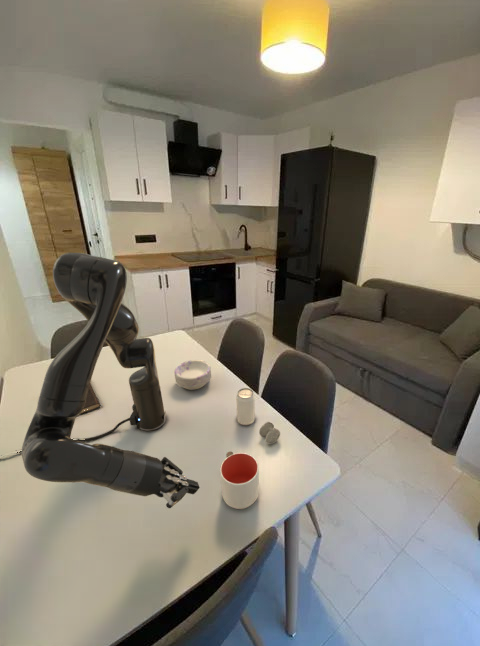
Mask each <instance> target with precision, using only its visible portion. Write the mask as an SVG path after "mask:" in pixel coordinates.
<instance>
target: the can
mask: <svg viewBox="0 0 480 646" xmlns="http://www.w3.org/2000/svg"><path fill="white" fill-rule="evenodd" d="M255 399H256V398H255V394H254V390H252V389H251V388H246V387H244V388H243V387H242V388H240V389H239V390H237V394H236V419H237V420H236V421H237V422H238V423H239V424H240V425H242V426H250V425H252V424H253V423H255V420H256V403H255V402H256V400H255Z"/></svg>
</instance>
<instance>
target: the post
mask: <svg viewBox="0 0 480 646" xmlns="http://www.w3.org/2000/svg"><path fill="white" fill-rule="evenodd" d="M233 454H234V452H233V451H228V452H226V454H225V456H226V458H227V457H229V456H230V455H233Z"/></svg>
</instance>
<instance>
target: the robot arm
mask: <svg viewBox="0 0 480 646" xmlns="http://www.w3.org/2000/svg"><path fill="white" fill-rule="evenodd" d="M52 279H53V283H54V285H55V288H56V290H57V292H58V294H59V295H60V296H61V297H62V298H63V299H64V300H65V301H66V302H67V303H68V304H69V305H71V306H72V307H73V308H74V309H76V310H77V311H78V312H79V313H80V314H81V315H82V316H83V317H84V319H86V320H87V321H88V322H87V324H86V326H85V327H83V329H82V330H81V331H80V332H79V333H78V335H76V337H74V338H73V339H72V340H71V341H70V342H69V343H68V344H66V346H65V347H63V348H62V349H61V350H60V351H59V352H58V353H57V354H56V356H55V357H54V358H53V360H52V361H51V362H50V364H49V365H48V368H47V369H46V373H45V376H44V378H43V382H42V386H41V389H40V393H39V396H38V401H37V405H36V410H35V412H34V414H33V416H32V418H31V420H30V424H29V425H28V428H27V431H26V434H25V436H24V439H23V442H22V447H21V450H22V451H20V452H19V453H18V452H17V453H16V454H21V459H22V462H23V466H24V469H25V471H26V472H27V474H28V475H29V476H31V477H33V478H34V479H37V480H41V481H45V482H51V483H72V484H73V483H84V484H87V485H88V484H89V485H93V486H98V487H103V488H107V489H110V490H112V491H116V492H119V493H126V494H130V495H135V496H141V497H148V496H151V495H155V496H156V497H159V498H164V500H165V501H166V502H167V503H166V504H165V506H166V508H167V509H171V508H173V507H174V506H175V505H176V504H178V503H179V502H180V501H182V499H184V497H185V496H186V495H187V494H190V495H195V494H196V493H197V492H198V490H199V489H200V488H201V487H200V484H199V482H198V481H197V480H194V479H190V478H188V477H187V476H185V475H183V473H184V472H183V470H182V469H181V468H179V466H177V465H176V464H175V463H174V462H172V461H171V460H170V459H169V458H167V457H166V456H163V458H162V459H160V458H157V457H154V456H151V455H147V454H145V453H144V454H143V453H140V452H137V451H133V450H129V449H123V448H122V449H121V448H118V447H115V446H112V445H108V444H104V443H92V444H90V443H86V442H88V441H93V440H98V439H101V438H103V437H106V436H109V435H110V434H112V433H114V432H115V431H116V430H118V428H119V427H120V426H121V425H123V424H124V423H127V422H129V424H130V426H136V429H139V430H141V431H143V432H154V431H157V430H159V429H160V428H162V427H163V426H164V425H165V424H166V422H167V416H166V413H167V412H166V410H165V407H164V401H163V395H162V391H161V390H162V389H161V384H160V379H159V373H158V368H157V361H156V352H155V345H154V342H153V340H152V338H150V337H142V338H138V336H139V333H140V328H139V324H138V322H137V319H136V317H135V315H134V313H133V312H132V311H131V309H130V308H129V307H127V306H126V305H125V304H124V303H123V299H124V297H125V293H126V289H127V283H128V275H127V269H126V268H125V265H123V263H122V262H120V261H118V260H114V259H110V258H106V257H103V256H102V257H101V256H97V255H92V254H88V253H82V252H66V253H63V254H61V255H60V256H58V257H57V259H56V260H55V261H54V263H53V267H52ZM105 344H107V346H108V347H109V348H110V350H111V351H112V353H113V354H114V356H115V358H116V360H117V362H118V364H119V365H120V366H121V367H122V368H124V369H136V368H139V369H138V370H136V371H134V372H133V373H132V374H131V375H129V378H128V385H129V388H130V391H131V392H130V393H131V396H132V401H133V404H132V406H131V409H132V411H131V414H130V416H129V417H128V418H126V419H123V420H122V421H120V422H118V423H117V424H116V425H115V426H114V427H113V428H112V429H111V430H109V431H106V432H105V433H101V434H100V435H96V436H92V437H87V438H84V439H85V440H73V439H75V438H73V439H71V438H72V431H73V429H74V425H75V422H76V420H77V419H76V418H77V417H78V416H80V415H79V414H80V413H81V412H82V410H83V408H84V405H85V401H86V398H87V394H88V390H89V386H90V383H91V382H92V378H93V374H94V371H95V368H96V364H97V362H98V359H99V357H100V355H101V352H102V350H103V347H104V345H105Z"/></svg>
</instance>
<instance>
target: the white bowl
mask: <svg viewBox="0 0 480 646" xmlns="http://www.w3.org/2000/svg"><path fill="white" fill-rule="evenodd" d="M173 372H174V379H175V383H176V384H177V386H178V387H181V388H184V389H186V390H189V391H195V390H199V389H202V388H203V387H204V386H206V385H207V384H208V383H209V382H210V381H211V379H212V367H211V365H210V363H208V362H207V361H205V360H201V359H190V360H187V361H183V362H181V363H179V364H178V365H177V366H176V367H175V369H174V371H173Z"/></svg>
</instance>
